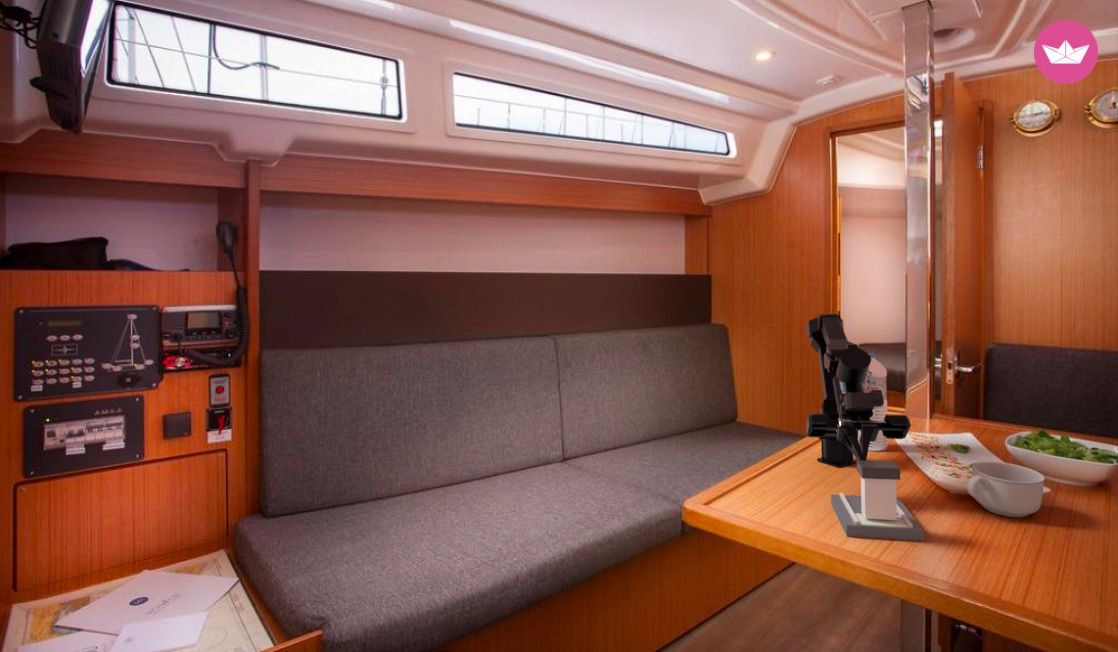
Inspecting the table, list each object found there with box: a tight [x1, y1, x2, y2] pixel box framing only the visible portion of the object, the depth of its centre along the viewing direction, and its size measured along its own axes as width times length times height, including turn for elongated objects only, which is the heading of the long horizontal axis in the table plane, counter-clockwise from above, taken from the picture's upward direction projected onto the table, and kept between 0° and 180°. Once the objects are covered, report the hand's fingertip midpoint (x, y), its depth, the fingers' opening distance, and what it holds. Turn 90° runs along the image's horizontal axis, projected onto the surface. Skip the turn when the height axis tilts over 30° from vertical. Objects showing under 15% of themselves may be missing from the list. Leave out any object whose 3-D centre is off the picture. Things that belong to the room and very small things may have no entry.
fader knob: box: [856, 459, 901, 520], centre depth 102 cm, size 4×6×10 cm, turn 74°
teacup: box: [966, 460, 1046, 518], centre depth 107 cm, size 14×11×8 cm
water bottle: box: [858, 353, 889, 452], centre depth 149 cm, size 7×7×25 cm
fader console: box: [830, 492, 925, 542], centre depth 106 cm, size 15×12×3 cm
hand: (863, 463), depth 113 cm, fingers closed
